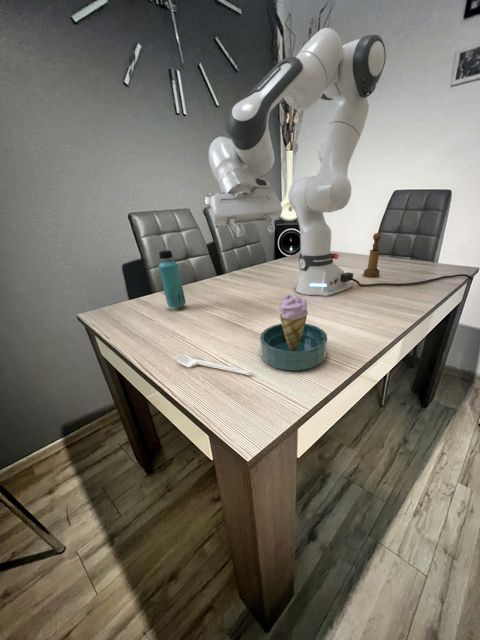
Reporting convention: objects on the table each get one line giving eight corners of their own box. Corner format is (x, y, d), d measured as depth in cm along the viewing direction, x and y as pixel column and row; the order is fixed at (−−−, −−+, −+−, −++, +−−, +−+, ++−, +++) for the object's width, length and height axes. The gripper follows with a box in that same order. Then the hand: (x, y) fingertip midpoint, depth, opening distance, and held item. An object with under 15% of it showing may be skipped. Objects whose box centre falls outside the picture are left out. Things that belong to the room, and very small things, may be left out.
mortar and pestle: (364, 277, 121) (370, 234, 112) (362, 274, 127) (367, 232, 118) (380, 277, 120) (387, 233, 111) (377, 274, 126) (384, 231, 117)
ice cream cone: (275, 349, 68) (273, 291, 61) (297, 343, 70) (297, 286, 63) (288, 362, 63) (287, 299, 55) (311, 355, 65) (313, 294, 57)
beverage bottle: (182, 311, 96) (169, 252, 86) (164, 311, 97) (150, 252, 87) (189, 305, 101) (179, 248, 91) (173, 305, 103) (161, 249, 93)
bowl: (301, 334, 76) (301, 317, 73) (339, 359, 64) (341, 340, 61) (250, 349, 70) (249, 332, 67) (282, 380, 58) (282, 360, 55)
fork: (247, 380, 58) (246, 372, 57) (172, 363, 66) (171, 357, 65) (253, 372, 61) (252, 364, 60) (181, 357, 68) (179, 350, 67)
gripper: (203, 184, 69) (222, 228, 66) (273, 180, 77) (293, 220, 74) (201, 204, 74) (218, 246, 72) (266, 199, 82) (284, 236, 80)
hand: (257, 233), depth 73 cm, fingers open, 8 cm apart
